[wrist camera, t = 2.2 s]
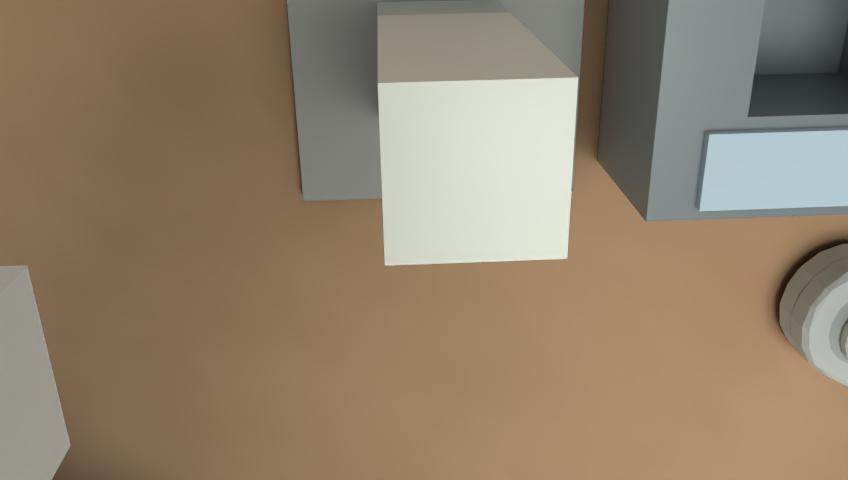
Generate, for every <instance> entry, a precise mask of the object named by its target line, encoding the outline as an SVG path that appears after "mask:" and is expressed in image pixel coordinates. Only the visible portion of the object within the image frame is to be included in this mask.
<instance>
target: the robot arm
mask: <svg viewBox="0 0 848 480" xmlns="http://www.w3.org/2000/svg"><path fill="white" fill-rule="evenodd" d="M70 446H71V445H70V441H69V437H68V433H67V428H66V424H65V420H64V416H63V412H62V408H61V404H60V399H59V395H58V391H57V387H56V383H55V379H54V375H53V371H52V366H51V362H50V358H49V354H48V350H47V346H46V342H45V337H44V333H43V329H42V325H41V321H40V317H39V313H38V308H37V304H36V300H35V296H34V292H33V288H32V284H31V279H30V275H29V271H28V267H27V265H17V266H0V480H52V479H53V477H54V475H55V473H56V471H57V470H58V468H59V466H60V464H61V462H62V460H63V459H64V457H65V455H66V453H67V451H68V450H69V448H70Z"/></svg>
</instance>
